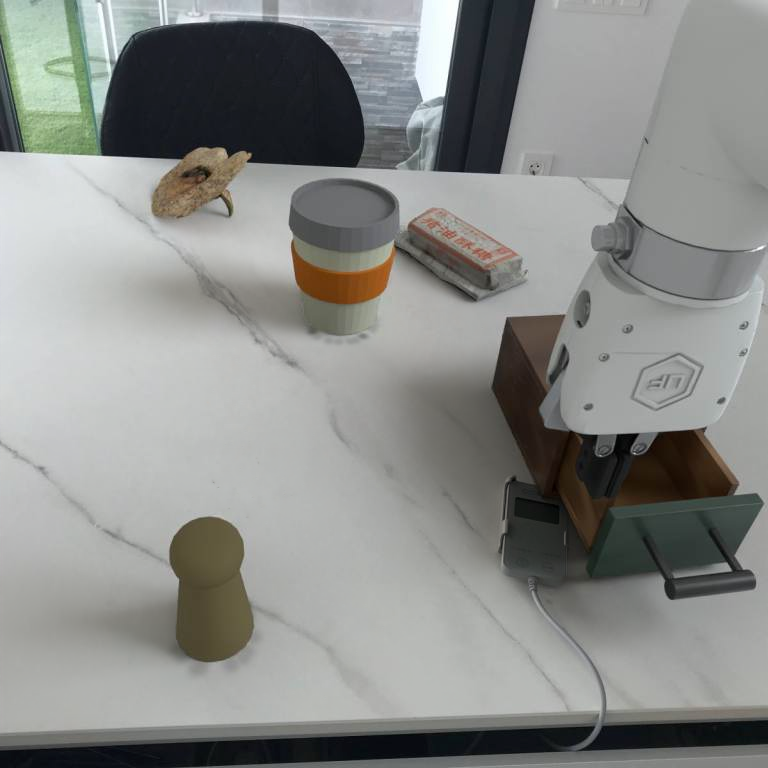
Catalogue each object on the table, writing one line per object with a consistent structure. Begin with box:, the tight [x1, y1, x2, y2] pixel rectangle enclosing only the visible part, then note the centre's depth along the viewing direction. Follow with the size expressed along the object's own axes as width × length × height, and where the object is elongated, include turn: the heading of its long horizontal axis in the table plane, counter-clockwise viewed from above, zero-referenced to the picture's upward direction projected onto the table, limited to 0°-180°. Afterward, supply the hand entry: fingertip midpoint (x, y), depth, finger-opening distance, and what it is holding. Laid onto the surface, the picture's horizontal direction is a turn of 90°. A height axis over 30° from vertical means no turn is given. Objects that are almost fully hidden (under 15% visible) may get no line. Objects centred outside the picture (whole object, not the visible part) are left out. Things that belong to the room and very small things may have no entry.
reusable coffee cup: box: [288, 177, 401, 336], centre depth 90 cm, size 13×13×15 cm
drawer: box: [554, 428, 765, 601], centre depth 68 cm, size 21×13×8 cm, turn 11°
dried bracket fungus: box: [150, 146, 252, 220], centre depth 112 cm, size 18×14×8 cm
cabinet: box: [490, 313, 708, 500], centre depth 78 cm, size 17×15×10 cm
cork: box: [168, 515, 255, 663], centre depth 57 cm, size 6×6×11 cm
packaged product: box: [394, 207, 529, 302], centre depth 105 cm, size 18×5×10 cm
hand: (595, 483), depth 52 cm, fingers closed
